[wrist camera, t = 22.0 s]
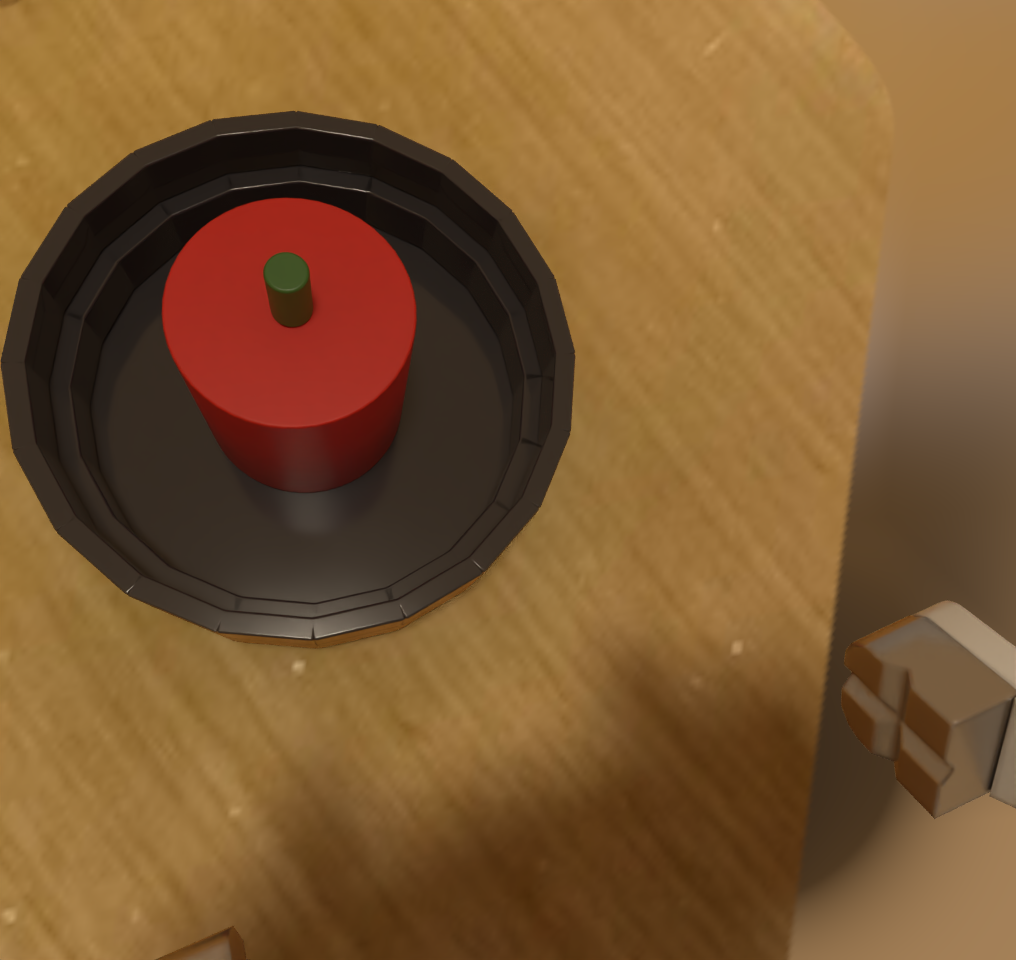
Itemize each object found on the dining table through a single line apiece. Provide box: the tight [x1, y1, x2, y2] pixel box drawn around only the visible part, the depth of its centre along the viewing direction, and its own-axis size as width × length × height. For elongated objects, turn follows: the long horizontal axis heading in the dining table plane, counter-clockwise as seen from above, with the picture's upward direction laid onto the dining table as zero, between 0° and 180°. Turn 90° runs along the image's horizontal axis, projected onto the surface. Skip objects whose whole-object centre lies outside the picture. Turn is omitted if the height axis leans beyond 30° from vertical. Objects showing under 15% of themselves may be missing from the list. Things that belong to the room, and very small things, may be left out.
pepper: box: [162, 198, 417, 493], centre depth 24 cm, size 6×6×9 cm
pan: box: [1, 111, 575, 648], centre depth 27 cm, size 15×15×4 cm
